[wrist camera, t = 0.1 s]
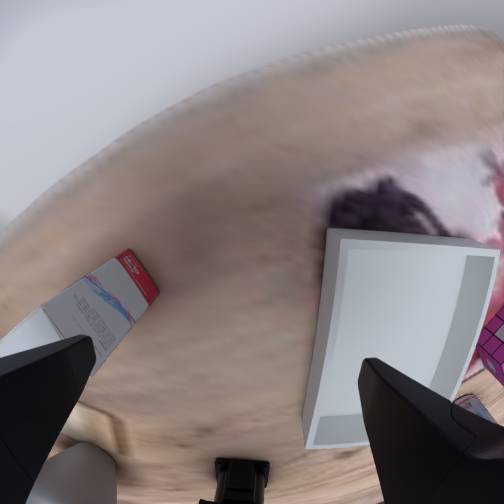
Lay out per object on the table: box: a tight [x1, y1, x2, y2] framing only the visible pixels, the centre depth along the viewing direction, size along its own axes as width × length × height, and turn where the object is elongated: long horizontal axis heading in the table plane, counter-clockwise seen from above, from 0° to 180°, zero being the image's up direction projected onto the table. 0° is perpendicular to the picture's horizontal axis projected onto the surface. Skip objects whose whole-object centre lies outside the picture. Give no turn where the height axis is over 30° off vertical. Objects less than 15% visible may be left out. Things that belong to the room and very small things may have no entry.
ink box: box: [0, 249, 159, 379], centre depth 19 cm, size 9×5×12 cm, turn 120°
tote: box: [302, 228, 500, 449], centre depth 22 cm, size 19×14×4 cm
